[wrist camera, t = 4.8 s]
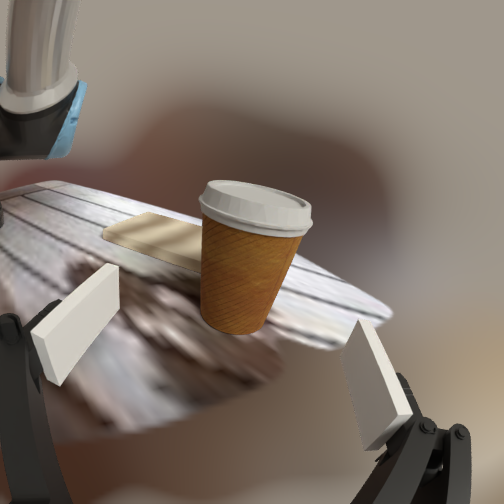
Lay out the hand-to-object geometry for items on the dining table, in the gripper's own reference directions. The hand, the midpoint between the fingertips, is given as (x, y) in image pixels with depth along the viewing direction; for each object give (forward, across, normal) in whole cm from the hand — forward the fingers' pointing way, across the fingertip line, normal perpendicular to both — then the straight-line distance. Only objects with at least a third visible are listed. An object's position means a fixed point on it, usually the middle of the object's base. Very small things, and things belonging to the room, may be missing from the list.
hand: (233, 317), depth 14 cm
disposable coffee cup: (+11, 0, -7) cm, 13 cm away
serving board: (+25, -10, -7) cm, 28 cm away
